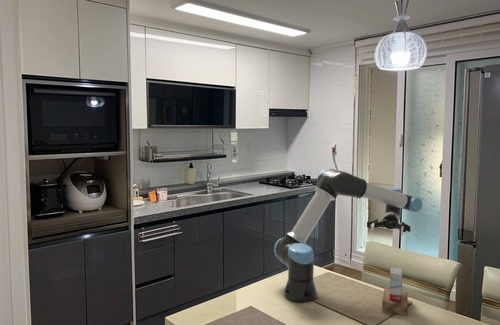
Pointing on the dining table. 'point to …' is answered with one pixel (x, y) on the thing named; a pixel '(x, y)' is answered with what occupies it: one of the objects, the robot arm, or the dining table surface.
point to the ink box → (395, 284)
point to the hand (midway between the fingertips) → (386, 230)
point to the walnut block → (395, 304)
